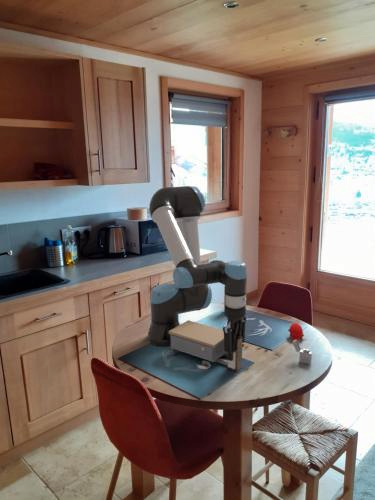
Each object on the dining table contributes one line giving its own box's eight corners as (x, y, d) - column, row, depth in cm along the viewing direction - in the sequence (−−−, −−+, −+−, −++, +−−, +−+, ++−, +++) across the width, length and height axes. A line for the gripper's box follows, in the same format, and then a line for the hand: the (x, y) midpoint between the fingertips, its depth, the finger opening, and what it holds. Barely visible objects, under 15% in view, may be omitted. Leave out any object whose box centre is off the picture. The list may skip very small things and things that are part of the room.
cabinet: (167, 355, 151) (167, 332, 149) (188, 342, 162) (188, 320, 160) (212, 371, 139) (213, 346, 137) (232, 356, 150) (232, 332, 148)
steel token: (194, 367, 142) (194, 365, 142) (201, 362, 146) (201, 359, 146) (206, 371, 140) (206, 369, 140) (212, 365, 144) (212, 363, 144)
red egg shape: (287, 325, 169) (285, 323, 164) (301, 322, 168) (299, 320, 162) (292, 344, 166) (289, 342, 161) (306, 341, 164) (304, 339, 159)
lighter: (311, 362, 144) (312, 343, 143) (310, 364, 143) (311, 344, 141) (292, 357, 148) (293, 338, 146) (291, 359, 147) (292, 340, 145)
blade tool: (199, 358, 148) (199, 329, 146) (204, 354, 151) (204, 326, 149) (237, 371, 139) (237, 340, 136) (241, 367, 142) (242, 336, 139)
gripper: (233, 314, 128) (232, 378, 133) (255, 300, 141) (253, 358, 146) (213, 309, 132) (213, 371, 137) (237, 296, 145) (236, 353, 150)
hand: (234, 364), depth 141 cm, fingers closed on blade tool, 3 cm apart
